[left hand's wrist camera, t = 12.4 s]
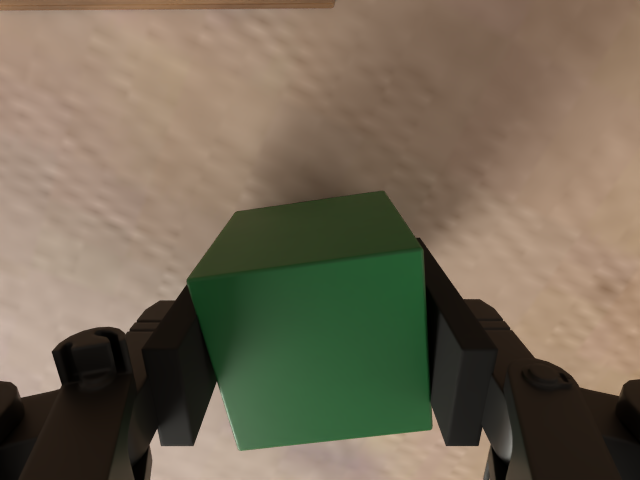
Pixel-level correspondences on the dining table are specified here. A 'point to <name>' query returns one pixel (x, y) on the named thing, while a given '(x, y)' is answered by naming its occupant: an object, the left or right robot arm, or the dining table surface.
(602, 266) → the dining table surface
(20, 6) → the chest
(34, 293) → the dining table surface
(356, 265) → the block
